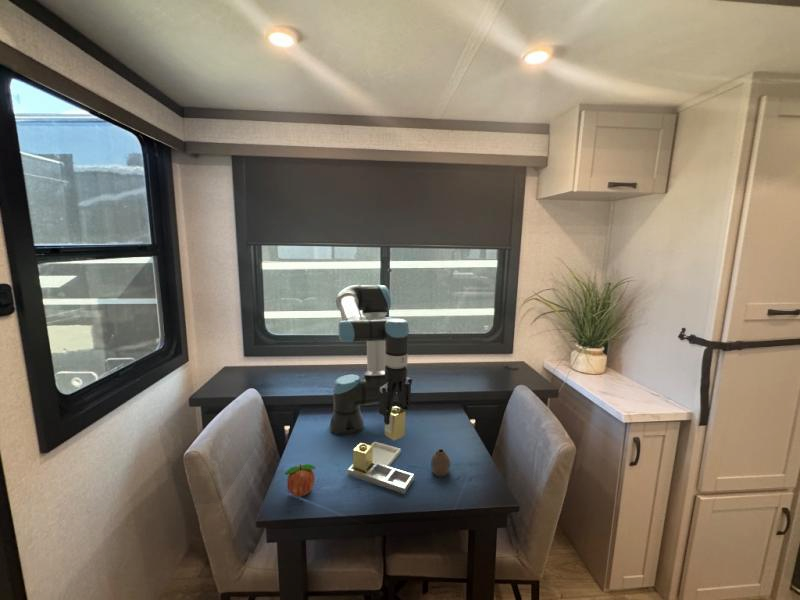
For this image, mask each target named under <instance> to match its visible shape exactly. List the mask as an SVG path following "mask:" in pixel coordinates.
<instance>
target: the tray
mask: <svg viewBox="0 0 800 600" xmlns="http://www.w3.org/2000/svg"><path fill="white" fill-rule="evenodd" d="M369 445H370V446H373V456H372V461H373V462H376V463H380V464H383V465H386V466H389V467H391V465H392V464H393V462H394V461H396V459H397V457H398V456H399V455H400V454H401V453H402V449H401V448H399V447H397V446H396V447H395V446H392V445H389V444H386V443H382V442H377V441H373V442H371V444H369Z"/></svg>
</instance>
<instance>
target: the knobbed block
mask: <svg viewBox="0 0 800 600" xmlns="http://www.w3.org/2000/svg"><path fill="white" fill-rule="evenodd" d="M400 408H401V407H400ZM400 408H399V407H398V406H396V405H395V406H392V410H391V415H392V433H391V434H390V433H388V432H387V431H385V430H384V435H385V436H386V437H387V438H389V439H390V440H392V441H397V440H399V439H401V438H402V437H405V436H406V416H405V414H407V410H406V411H404V410H402V409H400Z"/></svg>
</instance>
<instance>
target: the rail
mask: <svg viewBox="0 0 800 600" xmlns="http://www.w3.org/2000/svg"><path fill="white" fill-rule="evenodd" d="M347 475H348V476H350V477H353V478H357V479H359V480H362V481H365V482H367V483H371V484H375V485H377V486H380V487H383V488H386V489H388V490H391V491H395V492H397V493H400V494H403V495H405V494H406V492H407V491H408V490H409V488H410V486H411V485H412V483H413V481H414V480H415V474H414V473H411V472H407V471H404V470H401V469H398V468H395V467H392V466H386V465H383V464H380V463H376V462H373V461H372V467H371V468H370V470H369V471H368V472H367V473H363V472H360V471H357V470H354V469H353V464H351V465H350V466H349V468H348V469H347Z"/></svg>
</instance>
